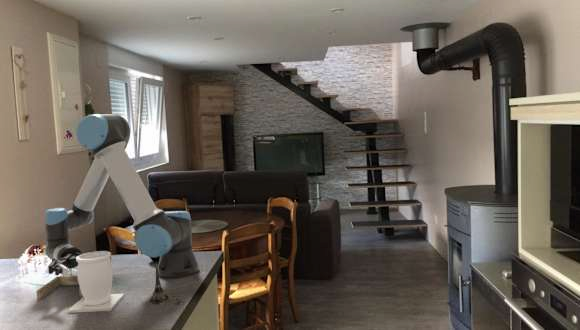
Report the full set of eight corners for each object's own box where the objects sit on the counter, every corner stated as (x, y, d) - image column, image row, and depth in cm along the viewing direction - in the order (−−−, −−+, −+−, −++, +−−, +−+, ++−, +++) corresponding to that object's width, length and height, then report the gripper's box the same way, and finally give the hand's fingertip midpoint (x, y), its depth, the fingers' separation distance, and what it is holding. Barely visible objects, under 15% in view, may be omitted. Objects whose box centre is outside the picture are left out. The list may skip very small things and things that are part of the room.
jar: (103, 307, 156) (99, 259, 154) (72, 307, 158) (68, 259, 156) (121, 295, 166) (117, 250, 165) (92, 295, 168) (88, 250, 167)
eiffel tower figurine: (184, 305, 158) (181, 263, 157) (152, 313, 153) (148, 269, 152) (169, 292, 171) (166, 253, 170) (138, 299, 166) (135, 259, 165)
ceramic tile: (124, 295, 168) (124, 293, 168) (110, 310, 155) (110, 308, 155) (85, 297, 168) (85, 295, 168) (68, 312, 155) (67, 310, 155)
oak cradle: (99, 282, 184) (98, 274, 183) (82, 297, 169) (82, 288, 168) (58, 284, 184) (57, 276, 183) (37, 299, 169) (36, 290, 168)
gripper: (104, 258, 188) (127, 270, 172) (30, 274, 172) (48, 288, 156) (102, 238, 187) (125, 248, 171) (28, 253, 171) (46, 264, 155)
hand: (89, 267), depth 163 cm, fingers open, 13 cm apart
